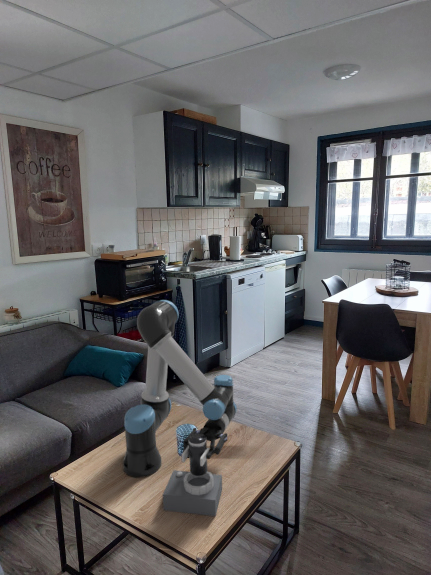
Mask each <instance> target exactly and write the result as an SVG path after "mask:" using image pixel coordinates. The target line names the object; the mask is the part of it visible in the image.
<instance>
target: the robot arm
mask: <svg viewBox="0 0 431 575" xmlns="http://www.w3.org/2000/svg"><path fill="white" fill-rule="evenodd" d="M179 316H180V315H179V310H178V307H177V306H176V305H175V304H174V303H173V302H172V301H171V300H167V299H160V300H157V301H154V302H153V303H152V304H151V305H149V306H146V307H144V308H143V309H142V310H141V311H140V312H139V313H138V316H137V318H136V319H137V320H136V326H137V330H138V332H139V334H140V337H141V338H142V339H143V340H144V343H145V344H147V358H146V375H145V386H144V387H145V390H143V391H142V392H141V394H140V404H137V405H135V406H132V407H131V408H129V409H128V410H127V411H126V412H125V415H124V423H123V424H124V432H125V436H124V437H125V447H126V450H125V454H124V458H123V461H122V467H123V468H122V470H123V472H124V473H125V474H126V475H127V476H129V477H133V478H144V477H149V476H151V475H153V474H156V473H157V472H158V470H159V469H160V468H161V467H162V456H161V452H160V451H159V448H158V447H157V438H156V437H157V436H156V433H157V430H158V429H159V428H160V426H161V425H162V424H163V423H164V422H165V420H166V419H167V418H168V417H169V415H170V412H171V409H172V401H171V399H170V398H169V397H170V393H169V392H168V391H167V379H168V366H169V367H170V369H171V370H172V371H173V372H174V373H175V374H176V376H178V378H179V379H180V380H181V381H182V382H183V384H184V385H185V386H186V388H188V390H189V391H190V392H191V393H192V394H193V395H194V397H195V398H196V399H197V400H198V402H200V403H201V404H200V405H202V413H203V415H204V417H205V418H206V419H207V421H206V422H205V423H204V425H203V427H201V428H200V429H197V427H193V428H192V431H191V432H190V433H189V434H188V435H187V437H186V438H184V440H183V443H182V444H183V452H182V453H181V462H182V463H185V462H186V461H187V459H189V458H188V457H189V441H188V439H189V437H190V436H191V435H193V434H203V435H205V436H206V440H207V441H209V442H210V443H209V444H210V445H209V447H207V449H206V450H205V452H204V453H203V455H202V456H201V458H200V466H203V465H204V463H205V462H206V460H207V461H208V460H210V459H211V457H212V456H213V455H214V454H215V455H217V456H218V455H220V454H221V451H222V449H223V447H224V445H225V443H226V442H227V441H228V433H226V432H225V431H226V430H227V428H228V426H229V425H230V423H231V422H232V420H233V419H234V418H235V416H236V414H237V410H238V408H237V404H236V403H235V402H234V382H233V378H232V376H231V375H229V374H219V375H217V376H215V377H214V379H213V384H212V383H211V381H209V379H208V378H207V377H206V376H205V374H204V373H203V372H202V371H201V370H200V369H199V368H198V366H197V365H196V364H195V363H194V361H193V360H192V359H191V358H190V357H189V356H188V354H187V353H186V352H185V351H184V350H183V348H181V346H180V345H179V344H178V343H177V342H176V340H175V339H174V338H173V337H174V335H175V324H176V323H177V322H178V321H179V318H180V317H179ZM216 440H218V441H217V443H216ZM215 445H216V446H215Z"/></svg>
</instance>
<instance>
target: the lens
mask: <svg viewBox="0 0 431 575" xmlns="http://www.w3.org/2000/svg"><path fill="white" fill-rule="evenodd" d="M188 441H189V456H188V457H189V458H188V459H189V472H191V474H193V475H195V476H201V475H204V474H205V473H206V472H207V471H208V459H207V460H206V462H205V463H204V465H203V466H200V458H201V456H202V455H203V453H204V452H205V450H206V449H207V446H208V445H207V441H208V440H206V436H205V435H203V434H193V435H191V436H190V437H189V439H188Z"/></svg>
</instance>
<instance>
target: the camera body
mask: <svg viewBox="0 0 431 575" xmlns="http://www.w3.org/2000/svg"><path fill="white" fill-rule="evenodd" d="M222 492H223V475H222V474H217V473H216V474H215V473H212V472H210V471H208V470H207V472H206V473H205V474H204V475H201V476H195V475H193V474H191V472H190V471H186V470H185V471H184V470H178V469H177V470H176V469H173V471H172V473H171V475H170V478H169V480H168V482H167V484H166V486H165V489H164V491H163V493H162V507H163V508H162V509H163V511H166V512H167V511H168V512H175V513H176V512H177V513H183V514H194V515H201V516H210V517H216V516H217V513H218V508H219V505H220V500H221V496H222Z"/></svg>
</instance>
